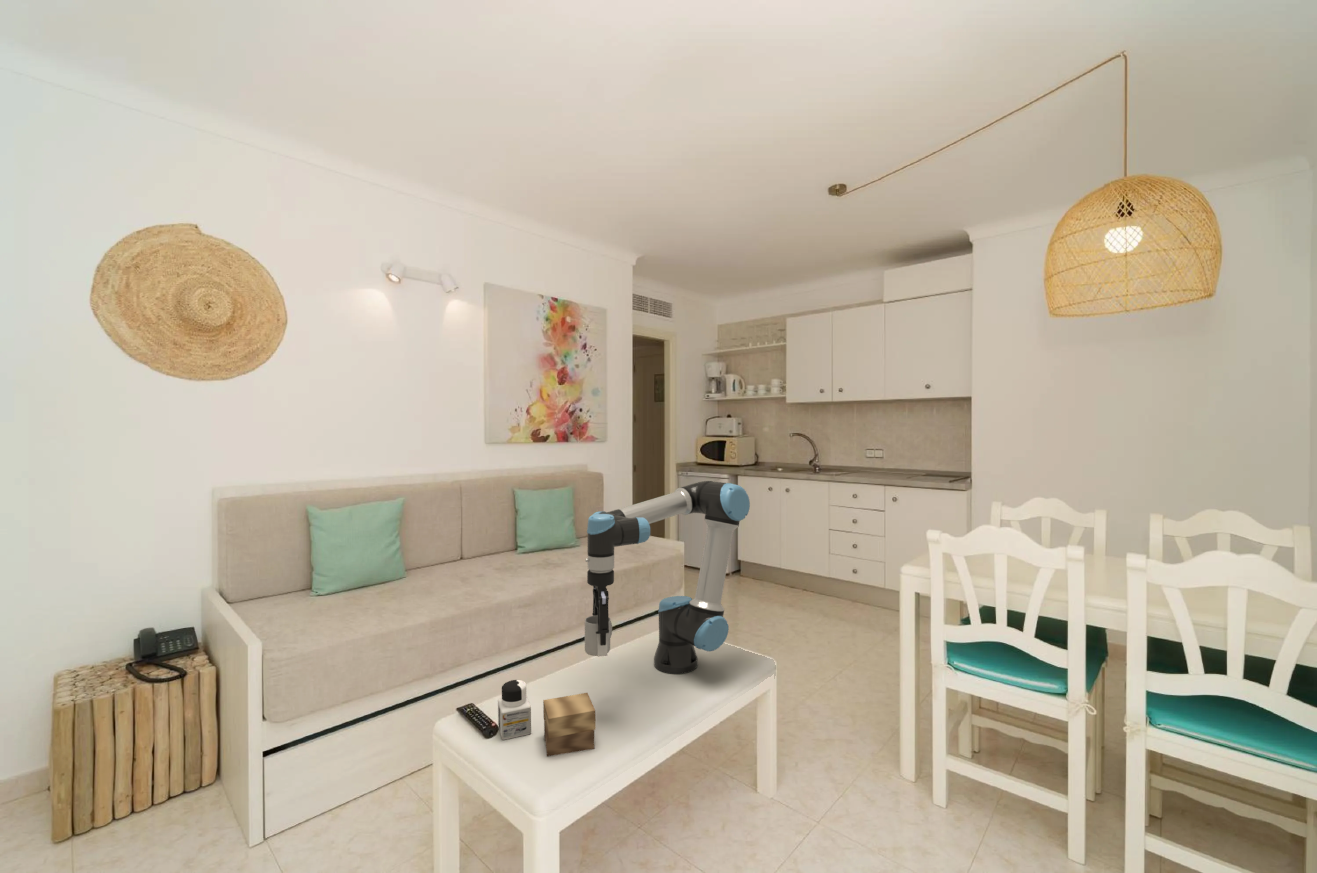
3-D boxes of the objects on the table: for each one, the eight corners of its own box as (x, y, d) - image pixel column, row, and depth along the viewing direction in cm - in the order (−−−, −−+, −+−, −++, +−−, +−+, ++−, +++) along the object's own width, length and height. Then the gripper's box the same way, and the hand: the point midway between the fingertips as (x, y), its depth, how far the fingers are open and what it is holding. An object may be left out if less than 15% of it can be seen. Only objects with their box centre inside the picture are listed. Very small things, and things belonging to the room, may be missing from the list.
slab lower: (588, 729, 153) (588, 711, 153) (594, 750, 143) (594, 730, 143) (544, 736, 150) (544, 717, 150) (547, 757, 140) (546, 738, 140)
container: (502, 740, 147) (501, 692, 147) (498, 726, 154) (497, 680, 154) (531, 734, 150) (530, 686, 150) (526, 720, 157) (525, 674, 157)
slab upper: (587, 710, 153) (587, 692, 153) (595, 729, 144) (595, 710, 144) (543, 718, 149) (543, 700, 149) (548, 738, 140) (548, 718, 140)
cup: (579, 652, 156) (579, 621, 156) (601, 640, 164) (601, 610, 164) (599, 658, 152) (599, 626, 152) (621, 646, 161) (621, 615, 160)
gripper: (583, 561, 166) (583, 636, 167) (591, 580, 146) (591, 666, 147) (608, 560, 168) (607, 634, 169) (620, 578, 148) (619, 663, 148)
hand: (600, 649), depth 158 cm, fingers closed on cup, 8 cm apart
